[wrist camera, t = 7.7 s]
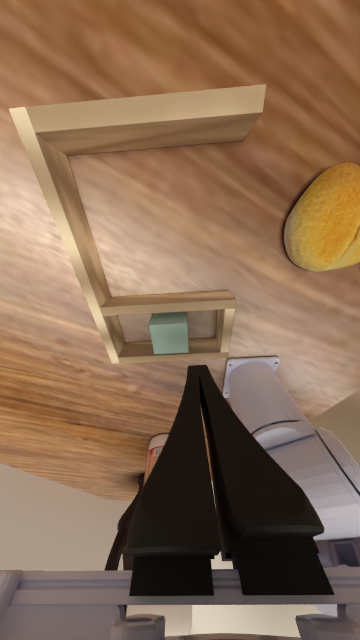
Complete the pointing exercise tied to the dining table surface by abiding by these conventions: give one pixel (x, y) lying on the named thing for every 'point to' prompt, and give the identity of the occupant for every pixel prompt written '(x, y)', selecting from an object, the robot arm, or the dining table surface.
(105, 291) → the organiser frame
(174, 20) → the dining table surface
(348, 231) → the bread roll
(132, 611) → the fruit juice
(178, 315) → the teal block
